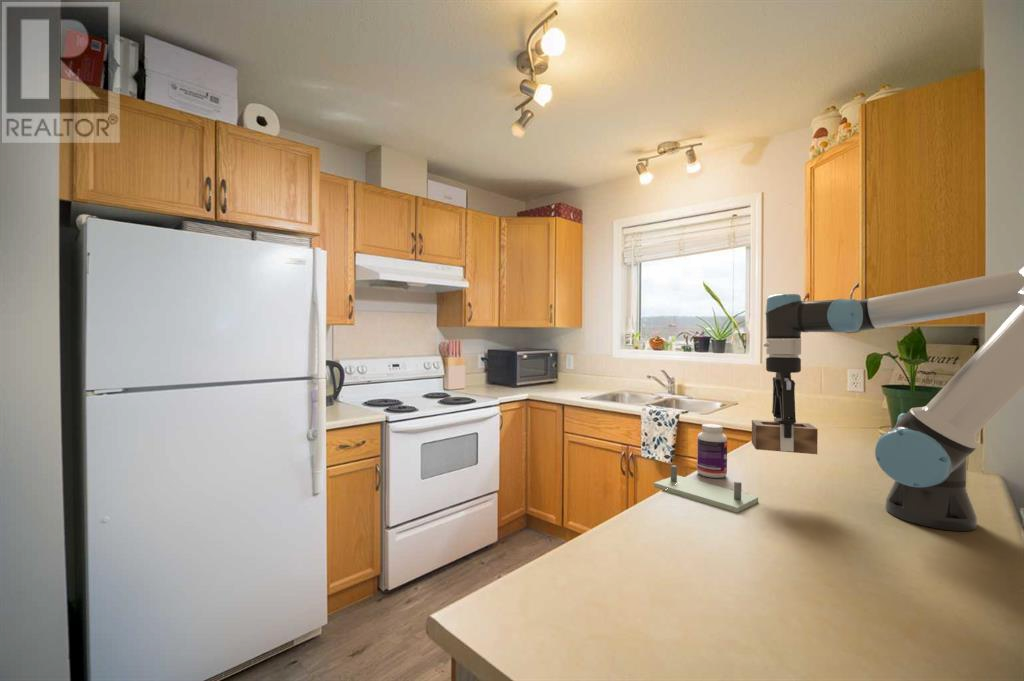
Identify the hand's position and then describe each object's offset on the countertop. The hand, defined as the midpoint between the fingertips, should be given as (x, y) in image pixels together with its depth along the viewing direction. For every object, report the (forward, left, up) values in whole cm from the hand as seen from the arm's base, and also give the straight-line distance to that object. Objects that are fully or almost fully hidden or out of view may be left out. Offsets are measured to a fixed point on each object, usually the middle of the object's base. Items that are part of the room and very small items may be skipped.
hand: (783, 446), depth 115 cm
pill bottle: (+20, -4, -13) cm, 25 cm away
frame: (0, 0, 0) cm, 0 cm away
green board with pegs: (+13, +13, -13) cm, 23 cm away
